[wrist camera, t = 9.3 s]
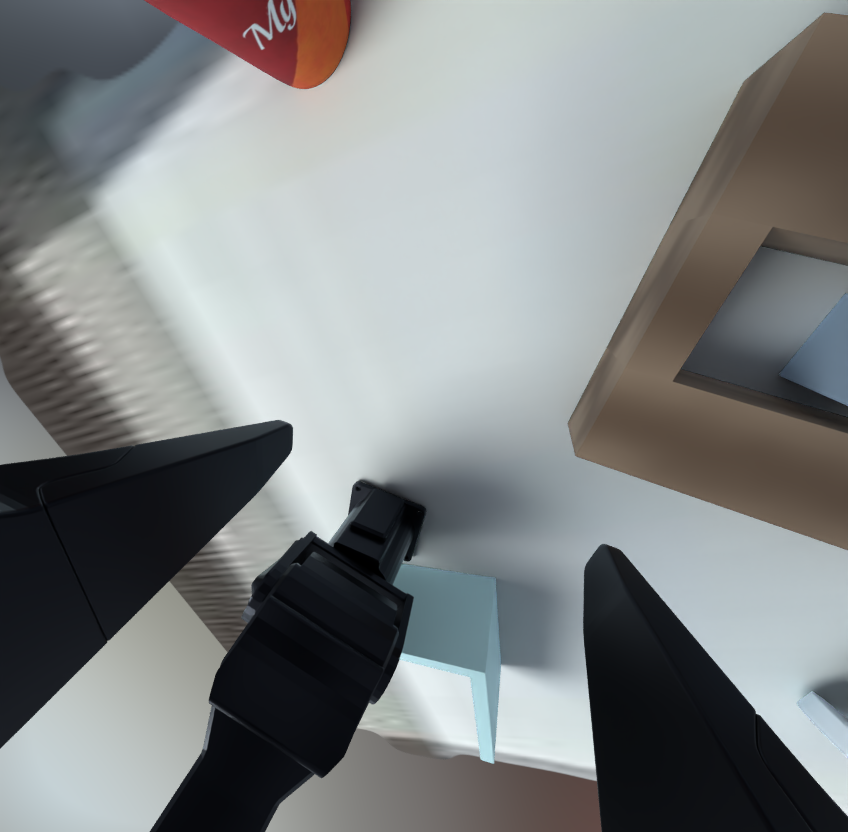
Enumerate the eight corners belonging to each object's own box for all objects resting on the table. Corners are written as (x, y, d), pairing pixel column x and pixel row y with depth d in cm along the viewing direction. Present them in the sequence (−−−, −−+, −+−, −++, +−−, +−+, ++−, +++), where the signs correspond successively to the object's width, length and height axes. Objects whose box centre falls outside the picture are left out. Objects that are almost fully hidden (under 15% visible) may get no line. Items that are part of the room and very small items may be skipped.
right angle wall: (370, 558, 31) (328, 635, 25) (495, 576, 28) (485, 673, 21) (391, 637, 36) (360, 720, 30) (501, 663, 32) (493, 763, 26)
